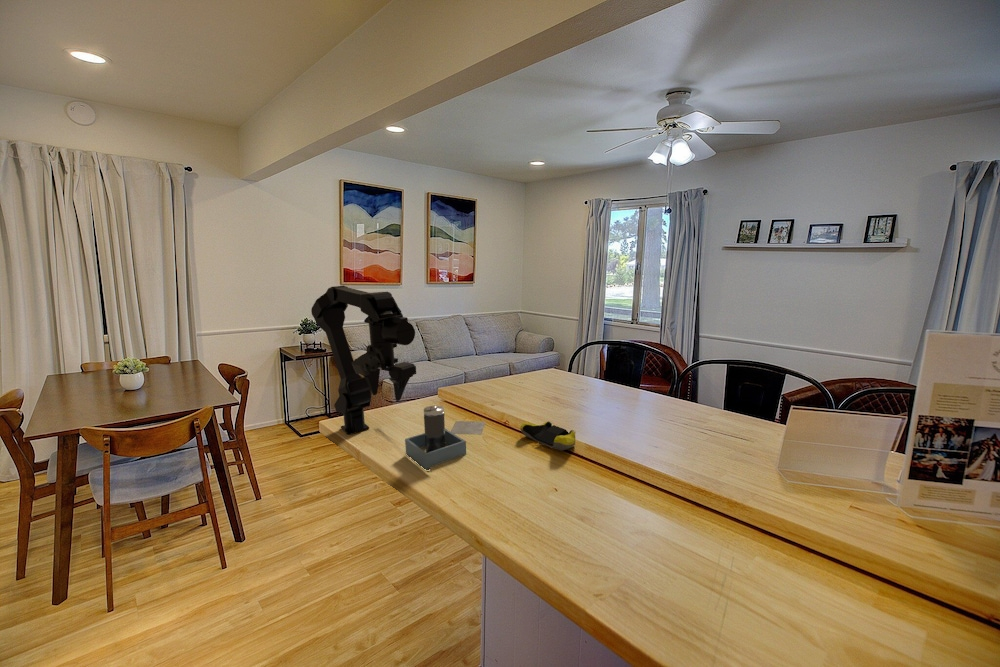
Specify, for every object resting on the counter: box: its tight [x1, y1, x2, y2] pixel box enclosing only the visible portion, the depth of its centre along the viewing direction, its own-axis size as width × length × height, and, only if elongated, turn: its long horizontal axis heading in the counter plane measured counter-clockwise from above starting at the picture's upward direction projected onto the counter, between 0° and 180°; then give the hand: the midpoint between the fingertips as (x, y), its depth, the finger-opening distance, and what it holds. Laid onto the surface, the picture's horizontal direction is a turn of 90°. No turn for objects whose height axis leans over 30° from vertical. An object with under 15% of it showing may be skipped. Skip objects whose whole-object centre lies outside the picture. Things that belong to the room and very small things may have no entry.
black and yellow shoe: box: [520, 421, 576, 451], centre depth 116 cm, size 15×6×10 cm
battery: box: [423, 404, 446, 453], centre depth 110 cm, size 5×5×13 cm
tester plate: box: [450, 420, 487, 435], centre depth 127 cm, size 9×9×1 cm
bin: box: [404, 428, 467, 470], centre depth 111 cm, size 11×11×4 cm
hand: (386, 397), depth 117 cm, fingers open, 9 cm apart
